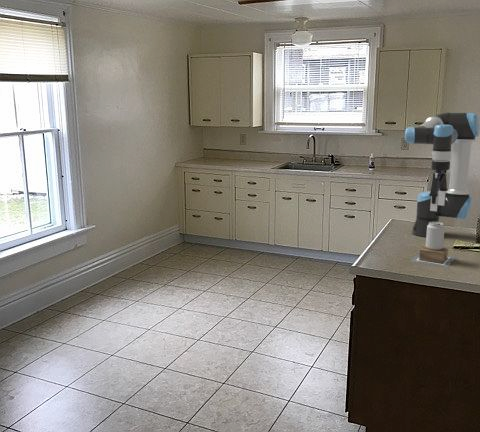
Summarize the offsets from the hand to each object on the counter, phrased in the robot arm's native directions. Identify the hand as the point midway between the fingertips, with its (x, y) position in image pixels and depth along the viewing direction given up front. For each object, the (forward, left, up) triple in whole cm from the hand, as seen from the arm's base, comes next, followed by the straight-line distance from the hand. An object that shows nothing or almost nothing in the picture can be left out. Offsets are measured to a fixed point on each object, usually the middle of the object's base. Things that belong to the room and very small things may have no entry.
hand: (437, 208), depth 234 cm
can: (0, 0, -19) cm, 19 cm away
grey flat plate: (0, 0, -25) cm, 25 cm away
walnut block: (0, 0, -24) cm, 24 cm away
